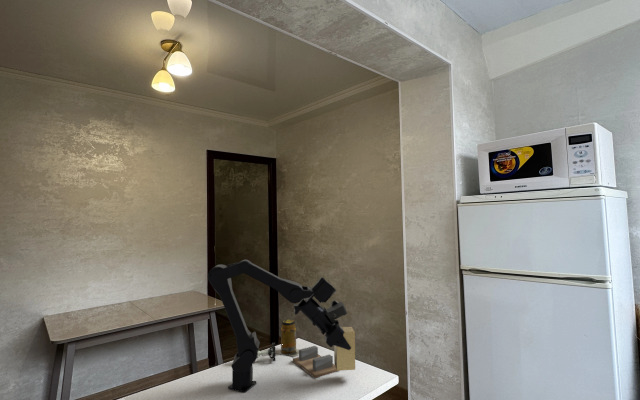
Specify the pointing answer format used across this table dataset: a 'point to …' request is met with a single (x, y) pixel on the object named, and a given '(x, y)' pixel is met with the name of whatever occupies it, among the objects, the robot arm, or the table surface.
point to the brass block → (345, 352)
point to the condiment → (288, 339)
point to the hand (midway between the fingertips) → (348, 345)
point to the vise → (315, 362)
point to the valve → (268, 352)
